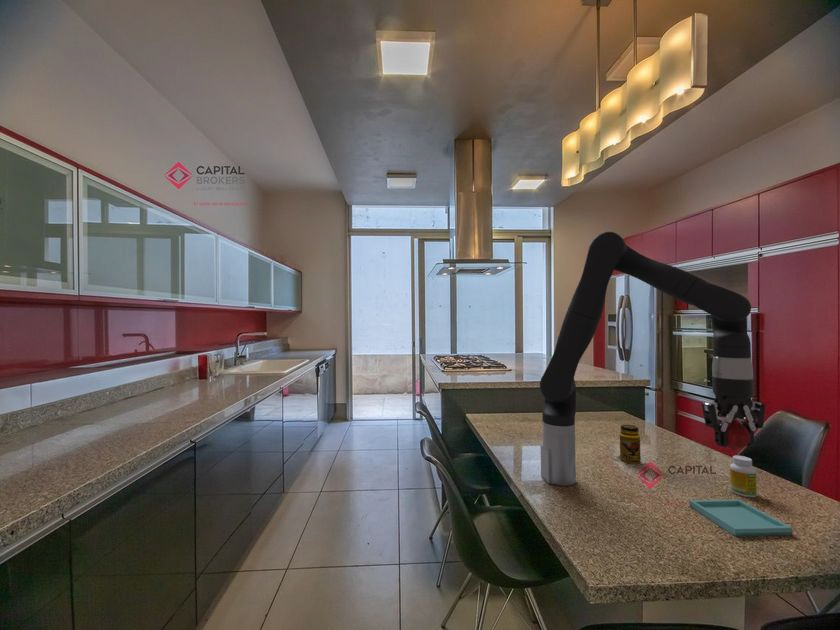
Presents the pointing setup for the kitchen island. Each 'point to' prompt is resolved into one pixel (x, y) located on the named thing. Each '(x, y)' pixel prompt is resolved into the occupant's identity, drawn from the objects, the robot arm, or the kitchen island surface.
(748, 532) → the tray
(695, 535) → the kitchen island surface
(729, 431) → the dark red rounded piece
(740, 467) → the supplement bottle
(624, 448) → the condiment
